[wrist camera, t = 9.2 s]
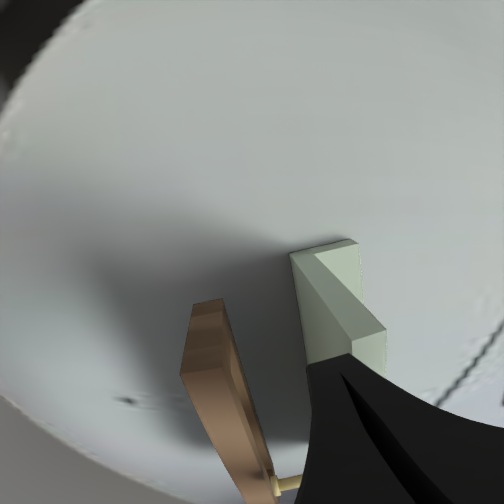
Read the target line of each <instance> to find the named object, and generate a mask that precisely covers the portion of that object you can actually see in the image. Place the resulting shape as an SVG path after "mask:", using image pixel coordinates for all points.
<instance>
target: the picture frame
mask: <svg viewBox="0 0 504 504" xmlns="http://www.w3.org/2000/svg"><path fill="white" fill-rule="evenodd" d="M180 376H181V378H182V381H183V383H184V385H185V388H186V390H187V392H188V394H189V396H190V399H191V401H192V403H193V405H194V407H195V409H196V411H197V413H198V415H199V418H200V420H201V422H202V424H203V426H204V428H205V430H206V432H207V434H208V436H209V438H210V439H211V441H212V443H213V445H214V447H215V449H216V451H217V453H218V455H219V456H220V458H221V460H222V462H223V464H224V466H225V467H226V469H227V471H228V473H229V474H230V476H231V478H232V480H233V481H234V483H235V485H236V487H237V488H238V490H239V492H240V493H241V495H242V497H243V498H244V500H245V501H246V503H247V504H280V500H279V496H276V497H275V496H274V493H273V490H272V485H271V479H270V477H271V476H275V472H274V467H273V462H272V460H271V457H270V454H269V451H268V448H267V445H266V442H265V438H264V435H263V432H262V429H261V426H260V423H259V420H258V417H257V414H256V411H255V407H254V404H253V401H252V398H251V394H250V391H249V388H248V385H247V381H246V378H245V375H244V371H243V368H242V365H241V361H240V358H239V355H238V351H237V348H236V344H235V341H234V337H233V334H232V330H231V327H230V323H229V320H228V316H227V313H226V309H225V305H224V302H223V298H222V299H217V300H212V301H208V302H203V303H198V304H194V305H193V309H192V314H191V319H190V324H189V329H188V333H187V338H186V343H185V348H184V354H183V359H182V364H181V369H180Z"/></svg>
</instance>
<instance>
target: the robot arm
mask: <svg viewBox="0 0 504 504" xmlns="http://www.w3.org/2000/svg"><path fill="white" fill-rule="evenodd" d="M306 372H307V379H308V385H309V392H310V399H311V406H312V421H311V431H310V440H309V447H308V453H307V458H306V463H305V468H304V472H303V476H302V480H301V483H300V487H299V490H298V494H297V497H296V500H295V503H294V504H504V428H501V427H496V426H492V425H488V424H484V423H480V422H476V421H472V420H469V419H466V418H463V417H460V416H457V415H454V414H452V413H449V412H447V411H444V410H442V409H439V408H437V407H435V406H433V405H431V404H429V403H427V402H425V401H423V400H421V399H419V398H417V397H415V396H413V395H411V394H410V393H408V392H406V391H405V390H403V389H401V388H400V387H398V386H396V385H395V384H393V383H392V382H390V381H388V380H387V379H385V378H384V377H382V376H381V375H379V374H378V373H376V372H375V371H374V370H372V369H371V368H369V367H368V366H366V365H365V364H364V363H362V362H361V361H360V360H358V359H357V358H356V357H354V356H353V355H351V354H350V353H346V354H343V355H340V356H336V357H333V358H329V359H326V360H322V361H319V362H315V363H311V364H309V365H308V366H307V367H306Z"/></svg>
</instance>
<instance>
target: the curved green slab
mask: <svg viewBox="0 0 504 504" xmlns="http://www.w3.org/2000/svg"><path fill="white" fill-rule="evenodd" d="M289 256H290V262H291V267H292V273H293V279H294V284H295V290H296V296H297V302H298V308H299V314H300V320H301V326H302V332H303V339H304V345H305V352H306V358H307V365H309V364H311V363H315V362H319V361H322V360H326V359H329V358H333V357H336V356H340V355H343V354H346V353H350V354H351V355H353V356H354V357H356V358H357V359H358V360H360V361H361V362H362V363H364V364H365V365H366V366H368V367H369V368H371V369H372V370H374V371H375V372H376V373H378V374H379V375H381V376H382V377H384V378H386V354H387V329H386V328H385V327H384V326H383V325H382V324H381V323H380V322H379V321H378V320H377V319H376V318H375V317H374V315H373V314H372V313H371V312H370V311H369V310H368V309H367V308H366V307H365V306H364V297H363V284H362V272H361V261H360V251H359V243H357V242H355V241H354V240H352V239H349V240H344V241H340V242H336V243H331V244H327V245H323V246H319V247H314V248H310V249H306V250H301V251H297V252H292V253H289ZM302 476H303V474H301V475H297V476H292V477H288V478H283V479H278V478H277V475H276V476H271V477H270V479H271V485H272V490H273V493H274V496H275V497H276V496H281V491H284V490H289V489H294V488H298V487H300V483H301V480H302Z"/></svg>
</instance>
